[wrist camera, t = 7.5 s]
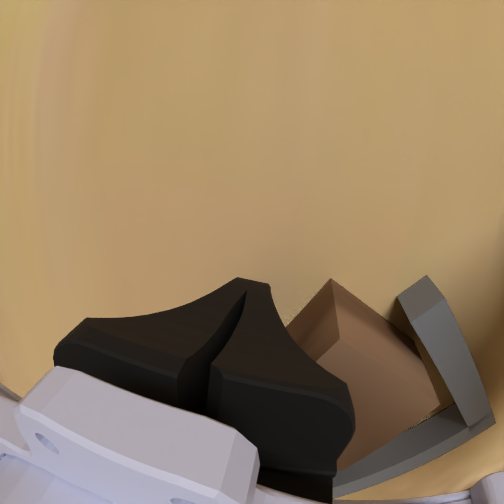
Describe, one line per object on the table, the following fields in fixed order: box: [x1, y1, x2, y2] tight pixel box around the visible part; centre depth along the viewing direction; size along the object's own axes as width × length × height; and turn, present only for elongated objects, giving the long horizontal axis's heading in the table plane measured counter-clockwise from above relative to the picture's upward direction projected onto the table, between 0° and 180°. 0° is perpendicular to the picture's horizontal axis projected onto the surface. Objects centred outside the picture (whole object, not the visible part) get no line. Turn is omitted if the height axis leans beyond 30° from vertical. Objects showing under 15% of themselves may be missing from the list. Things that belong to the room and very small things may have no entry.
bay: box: [333, 275, 496, 499], centre depth 13 cm, size 12×10×2 cm
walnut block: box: [286, 279, 440, 471], centre depth 11 cm, size 5×5×4 cm
